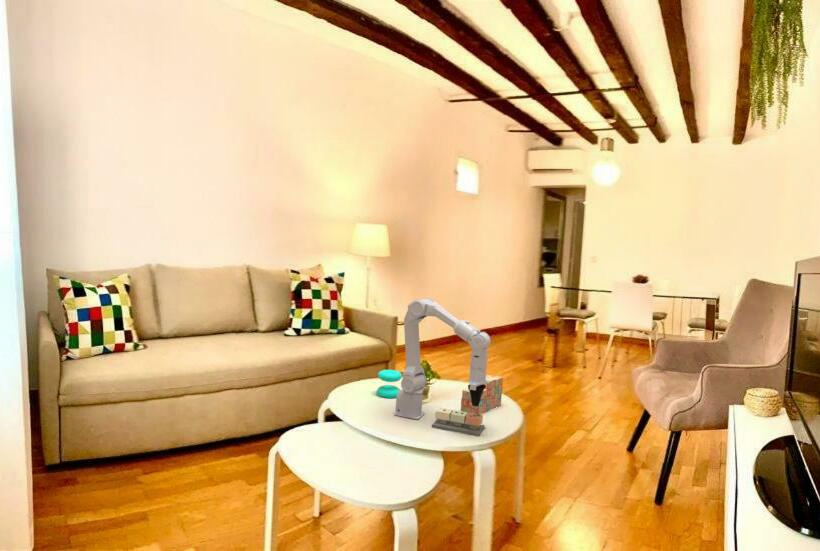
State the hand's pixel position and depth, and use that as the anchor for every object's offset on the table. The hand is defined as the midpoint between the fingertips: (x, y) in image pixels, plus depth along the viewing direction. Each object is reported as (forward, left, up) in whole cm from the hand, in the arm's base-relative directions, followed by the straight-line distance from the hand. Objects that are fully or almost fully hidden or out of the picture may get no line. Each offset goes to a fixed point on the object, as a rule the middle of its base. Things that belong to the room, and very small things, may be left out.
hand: (475, 405), depth 179 cm
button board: (-6, 0, -9) cm, 11 cm away
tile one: (-11, 0, -6) cm, 13 cm away
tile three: (0, 0, -6) cm, 6 cm away
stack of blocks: (-3, +26, -9) cm, 27 cm away
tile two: (-6, 0, -6) cm, 8 cm away
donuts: (-42, +23, -9) cm, 48 cm away
